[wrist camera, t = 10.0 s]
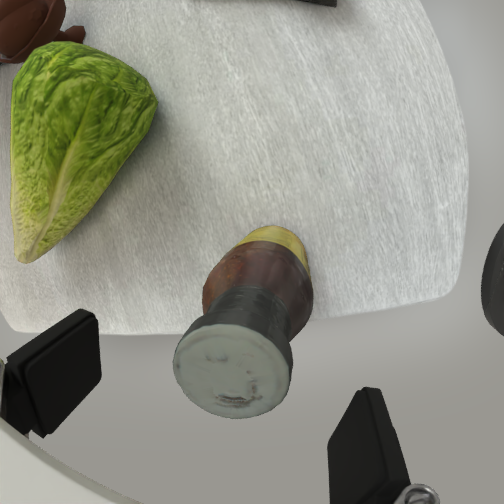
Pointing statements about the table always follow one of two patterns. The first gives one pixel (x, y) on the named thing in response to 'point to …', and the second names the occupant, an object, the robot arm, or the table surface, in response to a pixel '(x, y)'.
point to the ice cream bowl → (32, 27)
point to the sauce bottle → (247, 326)
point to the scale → (323, 2)
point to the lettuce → (69, 138)
